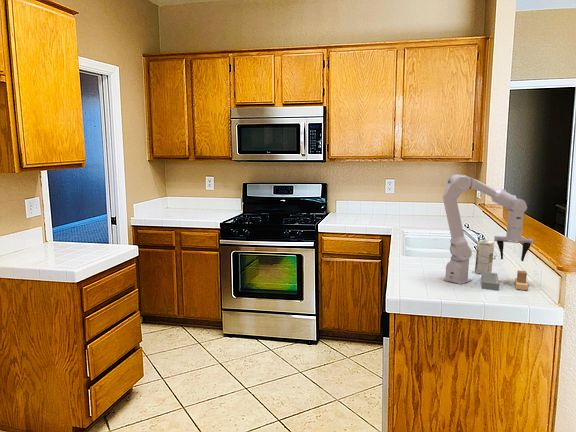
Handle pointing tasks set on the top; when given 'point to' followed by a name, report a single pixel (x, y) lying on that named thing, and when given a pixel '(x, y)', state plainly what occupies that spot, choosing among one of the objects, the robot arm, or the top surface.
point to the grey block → (490, 281)
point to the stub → (521, 280)
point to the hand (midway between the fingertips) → (511, 259)
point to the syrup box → (484, 256)
